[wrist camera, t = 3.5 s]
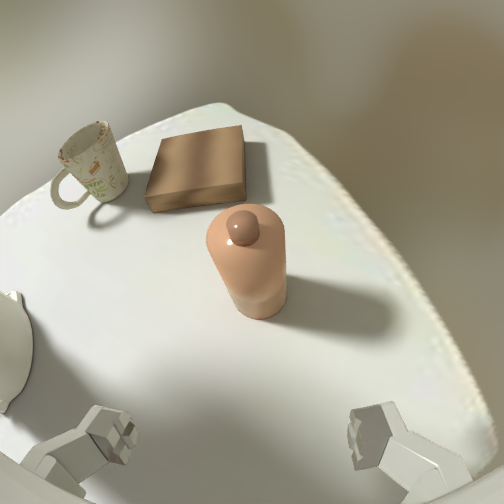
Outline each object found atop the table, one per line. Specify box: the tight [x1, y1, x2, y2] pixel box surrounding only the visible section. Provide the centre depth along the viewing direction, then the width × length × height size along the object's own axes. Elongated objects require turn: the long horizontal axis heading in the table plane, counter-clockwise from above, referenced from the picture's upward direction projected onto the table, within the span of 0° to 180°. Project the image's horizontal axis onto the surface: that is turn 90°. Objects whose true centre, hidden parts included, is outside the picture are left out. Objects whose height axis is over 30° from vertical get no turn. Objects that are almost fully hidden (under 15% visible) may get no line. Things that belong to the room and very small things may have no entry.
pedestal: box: [144, 125, 246, 213], centre depth 36 cm, size 12×12×3 cm
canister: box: [206, 204, 287, 319], centre depth 22 cm, size 5×5×11 cm
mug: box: [50, 121, 129, 210], centre depth 34 cm, size 8×13×10 cm, turn 142°
